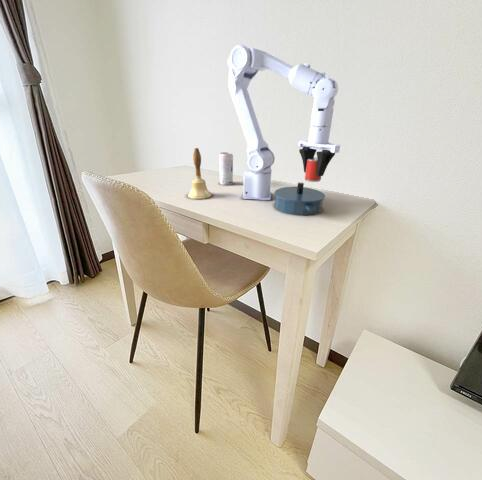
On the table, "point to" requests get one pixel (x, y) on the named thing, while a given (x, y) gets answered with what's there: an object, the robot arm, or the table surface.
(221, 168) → the energy drink
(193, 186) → the hand bell
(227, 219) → the table surface
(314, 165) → the tin can
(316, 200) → the lid
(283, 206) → the pot
